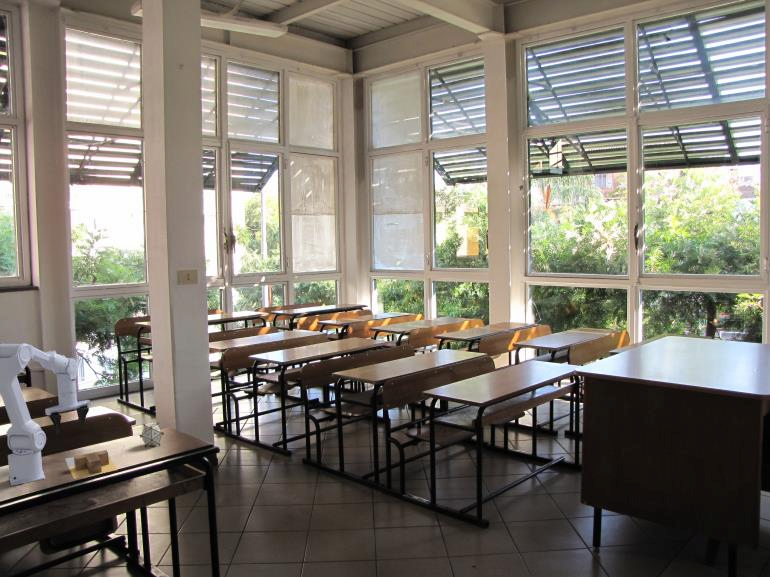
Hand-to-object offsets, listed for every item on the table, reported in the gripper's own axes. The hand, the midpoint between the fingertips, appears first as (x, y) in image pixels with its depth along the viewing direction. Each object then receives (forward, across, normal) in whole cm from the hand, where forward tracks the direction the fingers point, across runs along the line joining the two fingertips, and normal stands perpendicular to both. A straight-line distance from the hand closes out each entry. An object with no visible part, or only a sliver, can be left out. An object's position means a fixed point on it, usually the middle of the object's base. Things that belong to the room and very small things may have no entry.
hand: (70, 430), depth 228 cm
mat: (+9, 0, -14) cm, 17 cm away
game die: (+10, +23, -12) cm, 28 cm away
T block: (+9, -2, -20) cm, 22 cm away
